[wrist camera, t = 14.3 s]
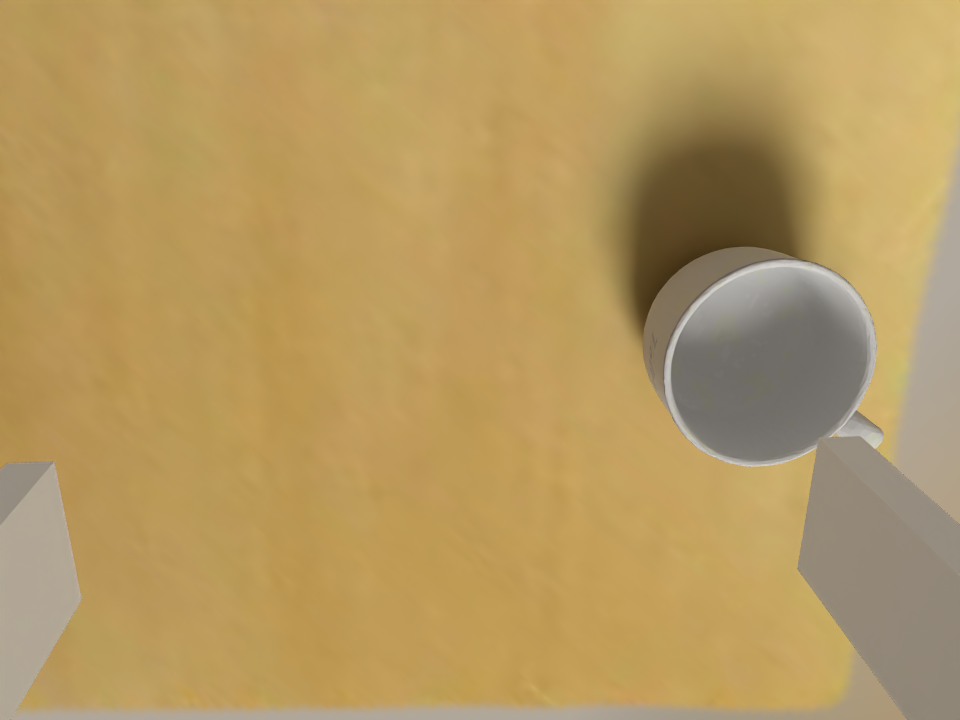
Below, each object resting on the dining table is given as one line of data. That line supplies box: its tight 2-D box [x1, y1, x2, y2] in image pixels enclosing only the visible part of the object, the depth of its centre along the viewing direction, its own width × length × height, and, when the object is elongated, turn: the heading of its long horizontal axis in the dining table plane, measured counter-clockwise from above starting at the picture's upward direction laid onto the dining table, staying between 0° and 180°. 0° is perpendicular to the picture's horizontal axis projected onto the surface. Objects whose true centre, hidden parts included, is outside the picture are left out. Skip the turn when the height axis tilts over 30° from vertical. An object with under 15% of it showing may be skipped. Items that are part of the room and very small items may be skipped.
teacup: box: [643, 247, 884, 467], centre depth 46 cm, size 14×11×8 cm
